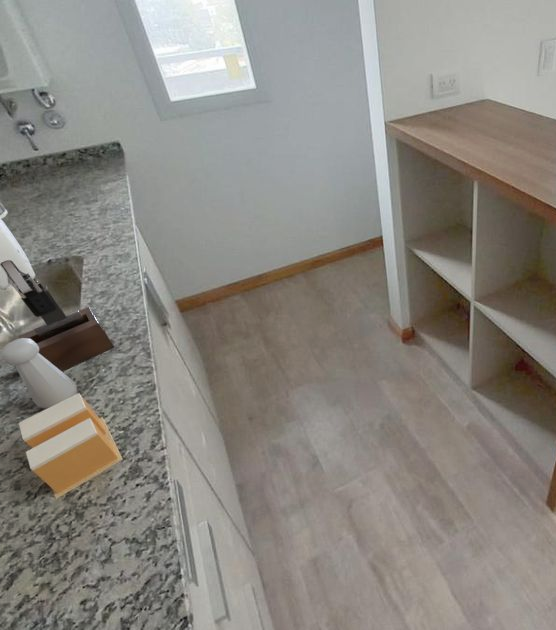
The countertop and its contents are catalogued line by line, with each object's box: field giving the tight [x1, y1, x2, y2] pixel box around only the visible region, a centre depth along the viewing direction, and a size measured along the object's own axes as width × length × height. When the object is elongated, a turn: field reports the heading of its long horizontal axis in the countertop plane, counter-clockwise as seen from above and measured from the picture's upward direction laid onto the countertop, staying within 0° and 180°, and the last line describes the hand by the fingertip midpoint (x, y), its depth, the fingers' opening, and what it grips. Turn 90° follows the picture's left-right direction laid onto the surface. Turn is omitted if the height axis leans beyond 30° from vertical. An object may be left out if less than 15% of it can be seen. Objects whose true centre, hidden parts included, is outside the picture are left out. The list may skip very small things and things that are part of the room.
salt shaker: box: [0, 338, 78, 410], centre depth 69 cm, size 6×6×13 cm
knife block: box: [18, 306, 115, 373], centre depth 81 cm, size 11×7×6 cm, turn 134°
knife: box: [32, 285, 86, 341], centre depth 79 cm, size 7×2×14 cm, turn 134°
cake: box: [18, 392, 123, 500], centre depth 62 cm, size 8×11×7 cm
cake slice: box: [25, 418, 118, 493], centre depth 60 cm, size 8×4×6 cm, turn 134°
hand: (44, 308), depth 77 cm, fingers closed on knife, 2 cm apart
